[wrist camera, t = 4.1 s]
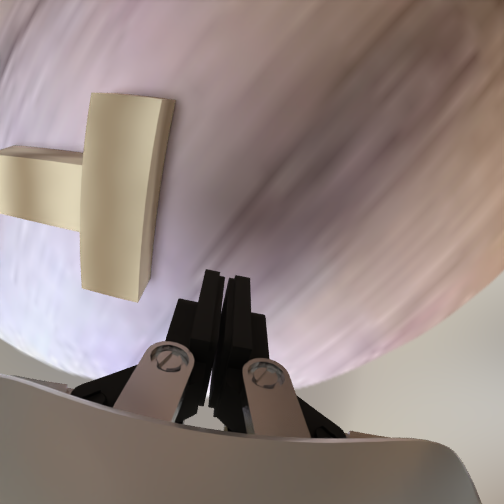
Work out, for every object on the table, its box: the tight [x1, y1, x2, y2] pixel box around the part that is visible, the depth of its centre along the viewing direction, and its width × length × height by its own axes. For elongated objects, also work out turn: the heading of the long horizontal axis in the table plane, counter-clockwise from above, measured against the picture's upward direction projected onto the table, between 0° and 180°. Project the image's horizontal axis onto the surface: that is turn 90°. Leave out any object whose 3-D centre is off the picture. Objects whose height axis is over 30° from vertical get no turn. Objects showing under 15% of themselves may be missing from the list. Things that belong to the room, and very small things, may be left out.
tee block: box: [0, 93, 176, 303], centre depth 17 cm, size 12×12×3 cm
